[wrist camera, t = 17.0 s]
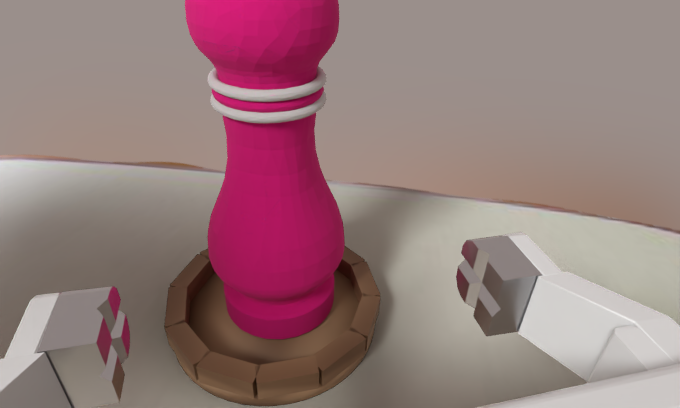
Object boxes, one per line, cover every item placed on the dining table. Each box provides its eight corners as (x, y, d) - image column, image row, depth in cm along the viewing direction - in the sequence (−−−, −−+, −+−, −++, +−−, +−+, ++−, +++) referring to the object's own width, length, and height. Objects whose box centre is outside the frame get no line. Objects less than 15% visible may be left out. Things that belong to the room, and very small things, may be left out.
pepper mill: (195, 334, 25) (97, -121, 14) (246, 251, 31) (207, -113, 20) (325, 360, 24) (334, -114, 12) (352, 269, 29) (374, -108, 18)
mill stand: (164, 427, 21) (155, 401, 20) (179, 264, 31) (173, 240, 29) (402, 382, 23) (406, 356, 22) (348, 243, 33) (349, 221, 32)
